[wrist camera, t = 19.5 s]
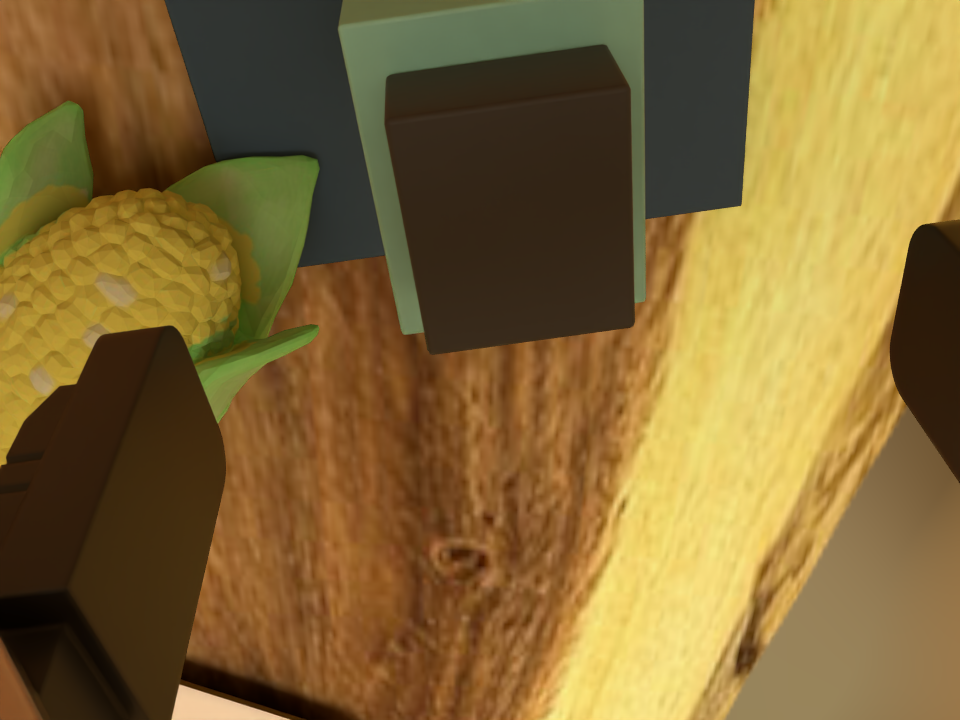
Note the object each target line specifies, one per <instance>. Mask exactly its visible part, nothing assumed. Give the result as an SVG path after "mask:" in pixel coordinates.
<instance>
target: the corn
mask: <svg viewBox="0 0 960 720" xmlns="http://www.w3.org/2000/svg"><path fill="white" fill-rule="evenodd" d="M319 169H320V168H319V164H318V160H317V159H314V158H311V157H308V156H304V155H295V156H283V157H269V156H252V157H245V158H237V159H231V160H224V161H220V162H217V163H214V164H211V165H208V166H204V167H202V168H201V169H199V170H197V171H195V172H194V173H192V174H190V175H188V176H187V177H185V178H183V179H181V180H180V181H178V182H176V183H174V184H173V185H171V186H170V187H168V188H167V189H166V190H164V191H163V192H162V193H161V192H160V191H158V190H155V189H151V188H146V189H140V190H139V191H138V192H136V191H132V190H129V189H128V190H124V191H121V192H117V193H116V194H115V195H114V196H113V195H105V196H99V197H96V198H94V199H92V195H93V176H94V174H93V170H92V165H91V160H90V156H89V151H88V147H87V142H86V138H85V127H84V114H83V110H82V108H81V107H80V106H79V105H78V104H76V103H74V102H71V101H67V102H65V103H63V104H62V105H60V106H58V107H56V108H55V109H53V110H51V111H50V112H48V113H46V114H45V115H43V116H41V117H40V118H38V119H36V120H34V121H33V122H31V123H29V124H28V125H26V126H25V127H24V128H23V129H22V130H21V131H20V132H19V133H18V134H17V135H16V136H14V137H13V138H12V139H11V141H10V142H9V143H8V144H7V145H6V147H5V148H4V149H3V152H2V154H1V157H0V467H1V465H4V464H6V463H7V461H6V455H7V453H8V452H9V450H10V448H11V446H12V444H13V442H14V440H15V438H16V436H17V434H18V432H19V430H20V428H21V426H22V424H23V422H24V420H25V419H26V418H27V417H28V416H29V415H30V414H31V413H32V412H34V411H35V410H36V409H37V408H38V407H39V406H40V405H41V404H42V403H43V402H44V401H45V400H46V399H47V398H48V397H49V396H50V395H51V394H52V393H53V392H54V391H55V390H56V389H57V388H58V387H59V386H64V385H71V384H76V383H77V381H78V379H79V377H80V374H81V372H82V370H83V368H84V366H85V364H86V362H87V359H88V357H89V355H90V353H91V351H92V349H93V346H94V344H95V342H96V341H97V339H98V338H99V337H100V336H101V335H103V334H109V333H116V332H123V331H131V330H138V329H145V328H153V327H160V326H167V325H172V326H174V327H175V328H176V329H178V331H179V332H180V333H181V335H182V337H183V339H184V341H185V343H186V345H187V348H188V351H189V353H190V356H191V358H192V361H193V363H194V366H195V368H196V371H197V373H198V376H199V378H200V381H201V383H202V386H203V388H204V391H205V393H206V396H207V398H208V401H209V403H210V406H211V408H212V411H213V414H214V416H215V419H216V421H217V424H218V423H219V422H220V420H221V419H222V417H223V416H224V414H225V413H226V412H227V410H228V408H229V406H230V403H231V401H232V399H233V397H234V396H235V395H236V393H237V392H238V391H239V390H240V389H241V388H242V386H243V385H244V384H245V383H246V382H247V380H248V379H249V378H250V377H251V376H252V375H253V374H255V373H256V372H257V371H258V370H259V369H260V368H262V367H263V366H264V365H265V364H266V363H269V362H271V361H273V360H275V359H278V358H280V357H282V356H284V355H287V354H289V353H290V352H292V351H294V350H296V349H298V348H300V347H302V346H304V345H306V344H308V343H310V342H311V341H312V340H313V339H314V338H315V337H316V336H317V334H318V331H319V327H318V325H312V324H310V325H306V326H301V327H297V328H292V329H288V330H284V331H282V332H279V333H277V334H275V335H273V336H270V337H268V334H269V332H270V329H271V326H272V324H273V321H274V318H275V316H276V315H277V313H278V311H279V309H280V307H281V305H282V303H283V301H284V299H285V297H286V295H287V293H288V291H289V289H290V288H291V286H292V283H293V280H294V277H295V273H296V270H297V267H298V263H299V260H300V257H301V253H302V250H303V247H304V243H305V238H306V233H307V229H308V224H309V217H310V210H311V203H312V197H313V192H314V188H315V184H316V180H317V177H318V173H319ZM267 337H268V338H267Z"/></svg>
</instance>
